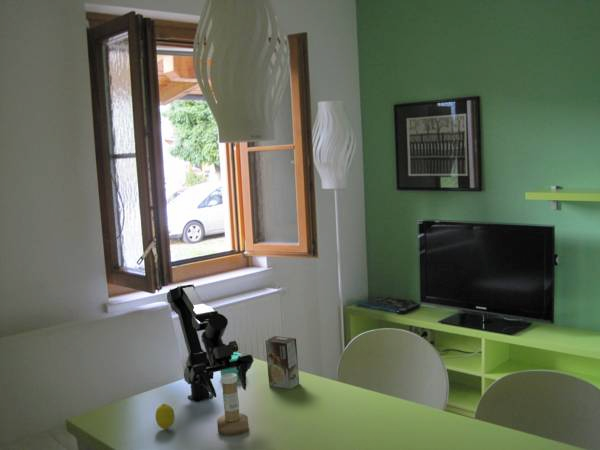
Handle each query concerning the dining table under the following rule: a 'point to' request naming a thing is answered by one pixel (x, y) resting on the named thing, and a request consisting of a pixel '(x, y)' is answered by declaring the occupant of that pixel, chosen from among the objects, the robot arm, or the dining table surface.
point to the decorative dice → (232, 370)
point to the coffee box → (282, 362)
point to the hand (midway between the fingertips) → (230, 393)
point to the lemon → (165, 416)
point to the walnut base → (232, 426)
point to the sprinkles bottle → (230, 397)
